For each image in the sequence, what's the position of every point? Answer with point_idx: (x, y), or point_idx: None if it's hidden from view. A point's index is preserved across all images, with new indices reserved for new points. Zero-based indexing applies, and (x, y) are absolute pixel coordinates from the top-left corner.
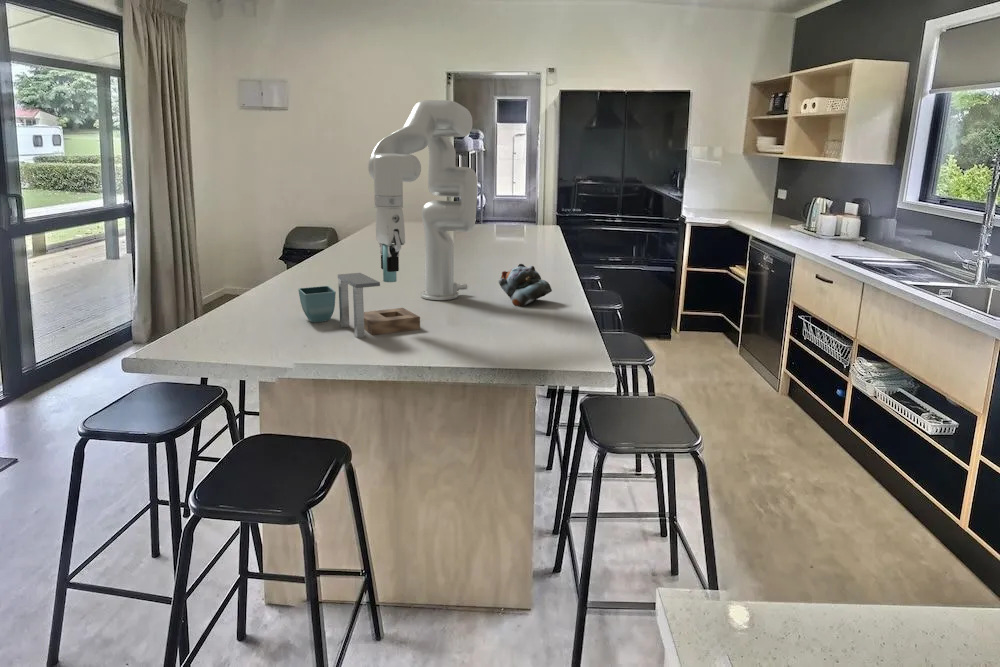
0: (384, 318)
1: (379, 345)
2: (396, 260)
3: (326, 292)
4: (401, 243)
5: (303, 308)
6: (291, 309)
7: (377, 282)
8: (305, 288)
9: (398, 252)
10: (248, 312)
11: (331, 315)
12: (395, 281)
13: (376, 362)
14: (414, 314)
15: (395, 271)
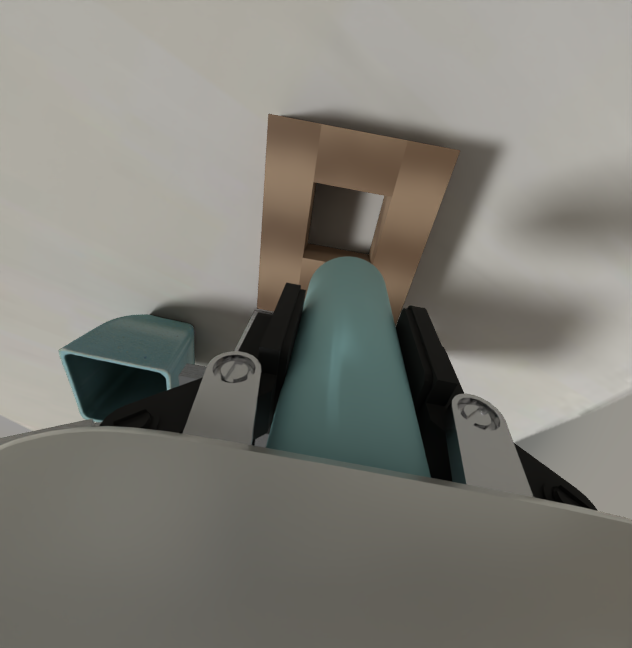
0: None
1: (480, 345)
2: (459, 389)
3: None
4: (562, 521)
5: (146, 381)
6: (34, 335)
7: None
8: (82, 404)
9: (554, 476)
10: (53, 404)
11: (193, 331)
12: (383, 279)
13: (570, 406)
14: (409, 145)
15: (391, 310)
